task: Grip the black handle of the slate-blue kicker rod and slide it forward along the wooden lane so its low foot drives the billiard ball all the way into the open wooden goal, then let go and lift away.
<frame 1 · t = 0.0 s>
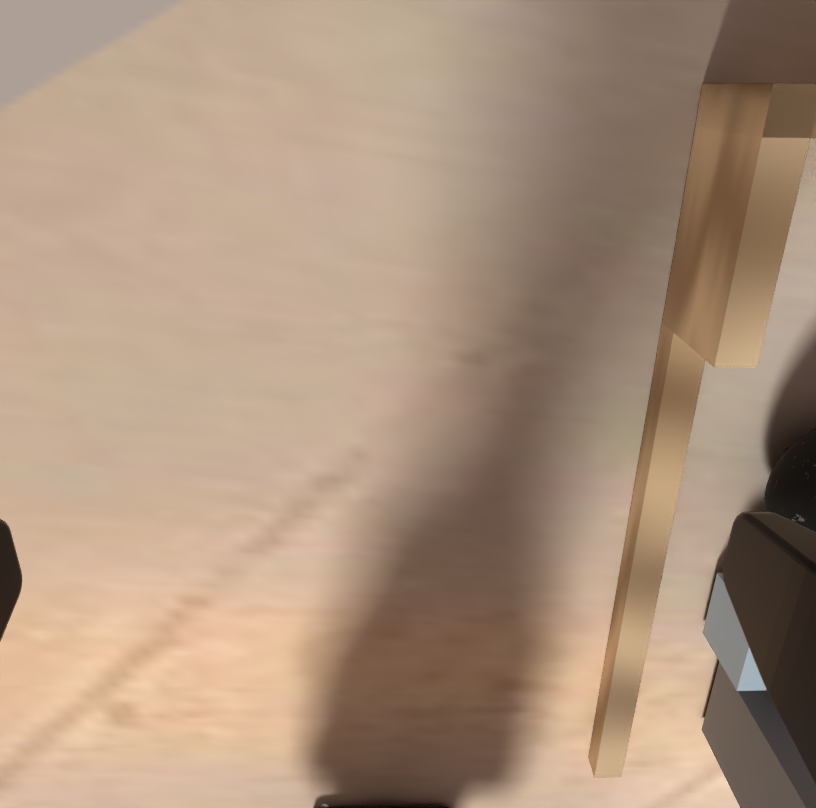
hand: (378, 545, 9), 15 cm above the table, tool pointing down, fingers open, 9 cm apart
billiard ball: (814, 463, 26), on the table
lane: (787, 572, 28), on the table
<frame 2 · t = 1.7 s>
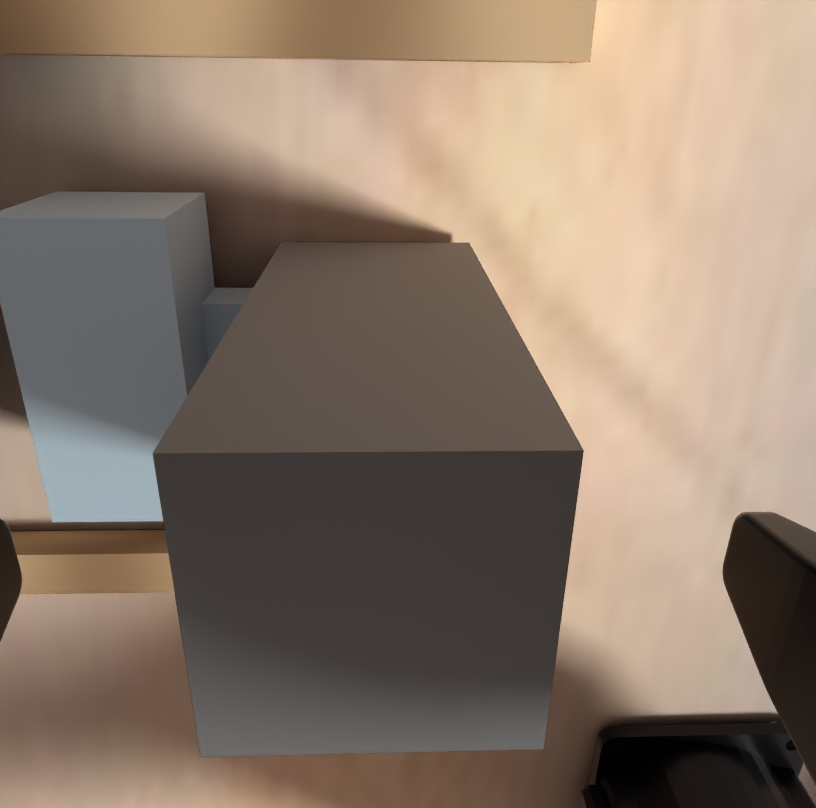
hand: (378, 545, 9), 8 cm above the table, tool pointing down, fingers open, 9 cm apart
lane: (99, 327, 16), on the table
kicker: (237, 423, 11), point 5 cm above the table, slide at 0.0 cm
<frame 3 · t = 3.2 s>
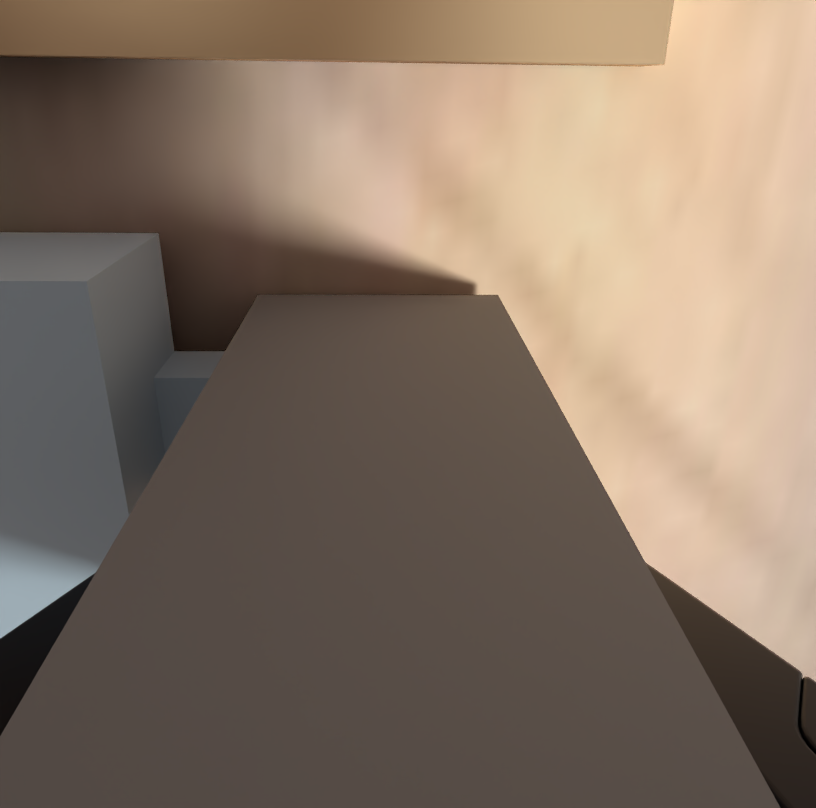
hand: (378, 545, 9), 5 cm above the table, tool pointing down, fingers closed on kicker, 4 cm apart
lane: (30, 397, 13), on the table
kicker: (186, 568, 8), point 5 cm above the table, slide at 0.0 cm, touching gripper
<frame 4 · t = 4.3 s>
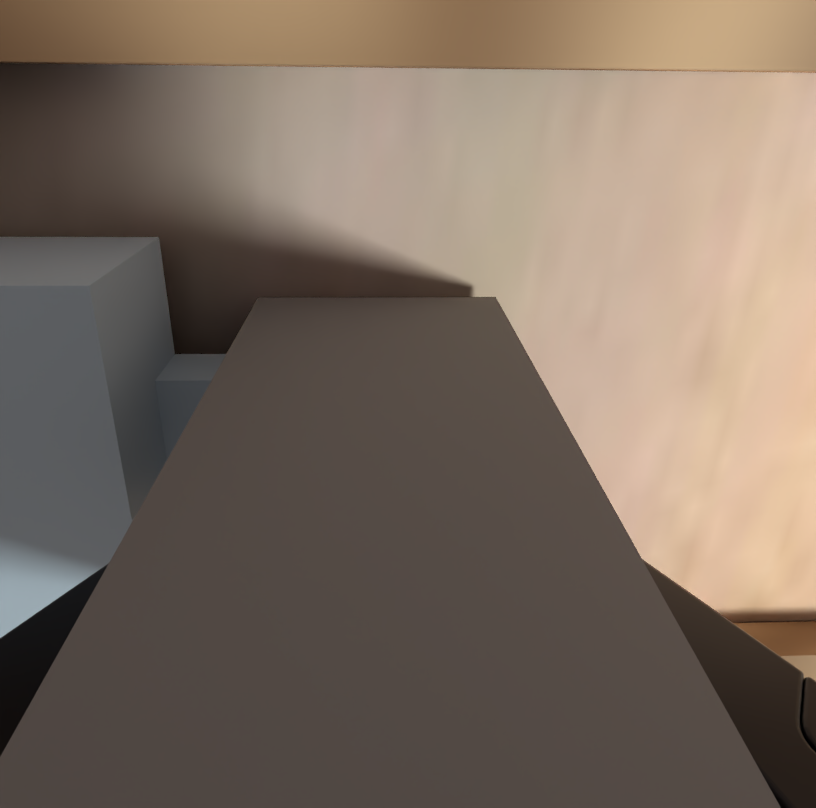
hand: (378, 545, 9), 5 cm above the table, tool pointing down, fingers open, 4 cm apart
lane: (484, 397, 13), on the table
kicker: (189, 569, 8), point 5 cm above the table, slide at 8.2 cm, touching billiard ball, gripper
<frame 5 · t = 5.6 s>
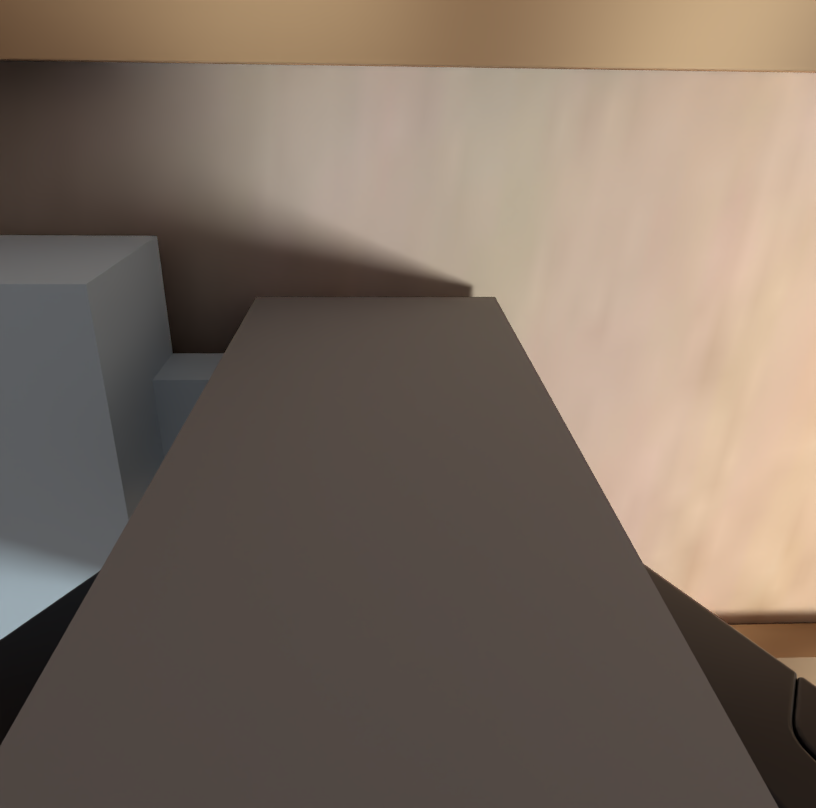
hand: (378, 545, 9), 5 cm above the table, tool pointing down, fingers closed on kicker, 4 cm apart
lane: (490, 398, 13), on the table
kicker: (186, 570, 8), point 5 cm above the table, slide at 8.3 cm, touching billiard ball, gripper
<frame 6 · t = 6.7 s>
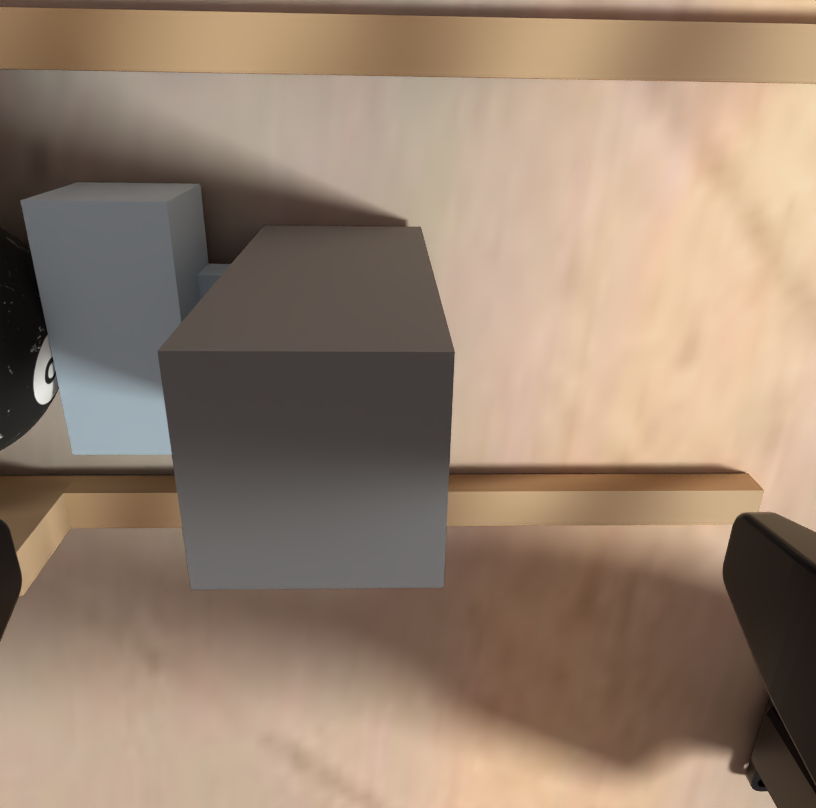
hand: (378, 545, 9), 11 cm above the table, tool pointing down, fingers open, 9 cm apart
lane: (422, 299, 19), on the table
kicker: (223, 364, 14), point 5 cm above the table, slide at 8.4 cm
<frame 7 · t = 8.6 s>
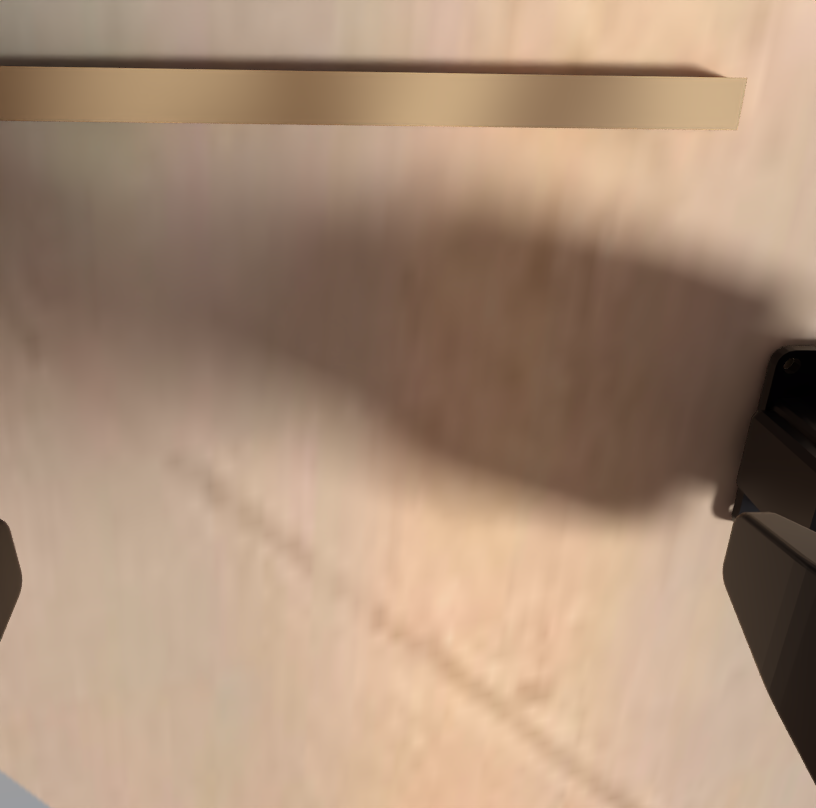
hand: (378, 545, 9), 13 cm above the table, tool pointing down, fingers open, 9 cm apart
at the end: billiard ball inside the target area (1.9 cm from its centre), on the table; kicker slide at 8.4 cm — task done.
